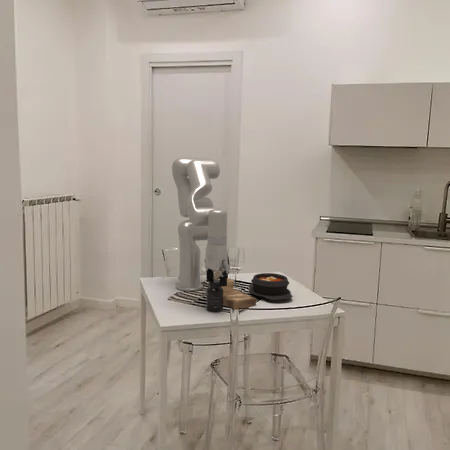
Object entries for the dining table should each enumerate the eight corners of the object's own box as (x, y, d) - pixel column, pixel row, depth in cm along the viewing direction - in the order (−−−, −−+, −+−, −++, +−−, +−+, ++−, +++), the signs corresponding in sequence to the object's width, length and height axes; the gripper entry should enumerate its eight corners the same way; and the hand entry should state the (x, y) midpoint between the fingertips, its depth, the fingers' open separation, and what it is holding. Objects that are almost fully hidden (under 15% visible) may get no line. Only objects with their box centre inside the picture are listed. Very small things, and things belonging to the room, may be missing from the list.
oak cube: (217, 290, 204) (217, 279, 203) (226, 288, 206) (227, 277, 206) (223, 293, 200) (223, 282, 199) (233, 291, 202) (233, 280, 202)
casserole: (302, 301, 202) (303, 282, 200) (263, 305, 195) (264, 286, 193) (274, 286, 224) (275, 269, 223) (239, 289, 217) (239, 271, 216)
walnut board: (210, 297, 203) (210, 290, 203) (231, 294, 209) (231, 287, 209) (234, 309, 188) (234, 302, 188) (255, 305, 194) (256, 298, 194)
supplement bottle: (205, 307, 191) (206, 278, 189) (222, 307, 191) (223, 278, 189) (206, 312, 184) (207, 283, 182) (223, 312, 184) (224, 283, 183)
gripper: (197, 238, 189) (197, 280, 191) (221, 244, 174) (220, 289, 176) (213, 237, 193) (213, 278, 195) (237, 243, 178) (236, 287, 181)
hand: (216, 283), depth 186 cm, fingers open, 9 cm apart
